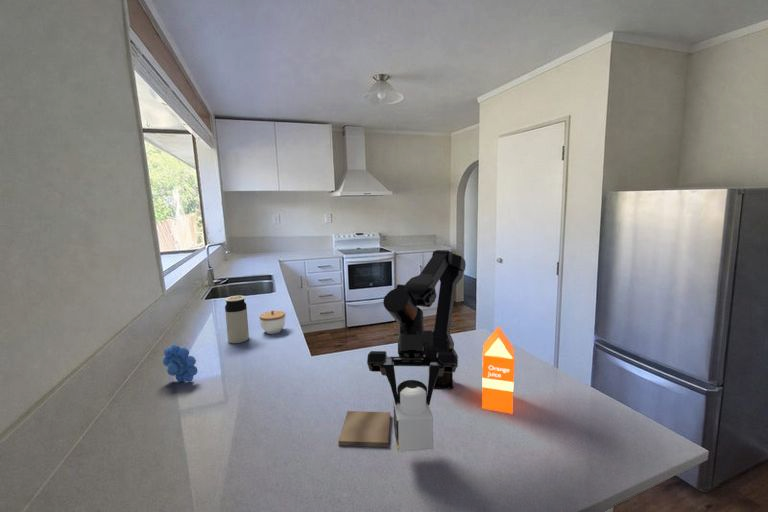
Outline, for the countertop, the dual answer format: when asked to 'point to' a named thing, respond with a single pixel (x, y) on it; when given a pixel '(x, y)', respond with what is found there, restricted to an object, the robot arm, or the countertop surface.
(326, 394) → the countertop surface
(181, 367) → the grapes
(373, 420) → the walnut board
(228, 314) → the travel mug
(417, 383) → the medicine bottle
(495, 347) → the orange juice
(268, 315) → the lidded jar
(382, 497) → the countertop surface
